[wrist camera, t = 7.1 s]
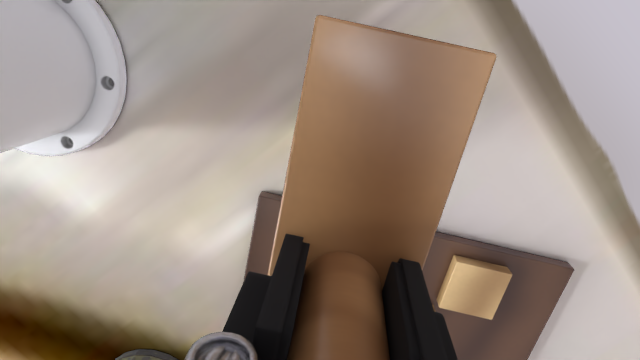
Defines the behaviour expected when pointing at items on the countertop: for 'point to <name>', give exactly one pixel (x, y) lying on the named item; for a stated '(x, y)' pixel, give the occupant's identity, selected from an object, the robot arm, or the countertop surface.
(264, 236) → the tray
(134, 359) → the olive green flask
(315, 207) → the wooden knob plate
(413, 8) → the countertop surface
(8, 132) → the robot arm
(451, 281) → the crumb
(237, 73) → the countertop surface
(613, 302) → the countertop surface
